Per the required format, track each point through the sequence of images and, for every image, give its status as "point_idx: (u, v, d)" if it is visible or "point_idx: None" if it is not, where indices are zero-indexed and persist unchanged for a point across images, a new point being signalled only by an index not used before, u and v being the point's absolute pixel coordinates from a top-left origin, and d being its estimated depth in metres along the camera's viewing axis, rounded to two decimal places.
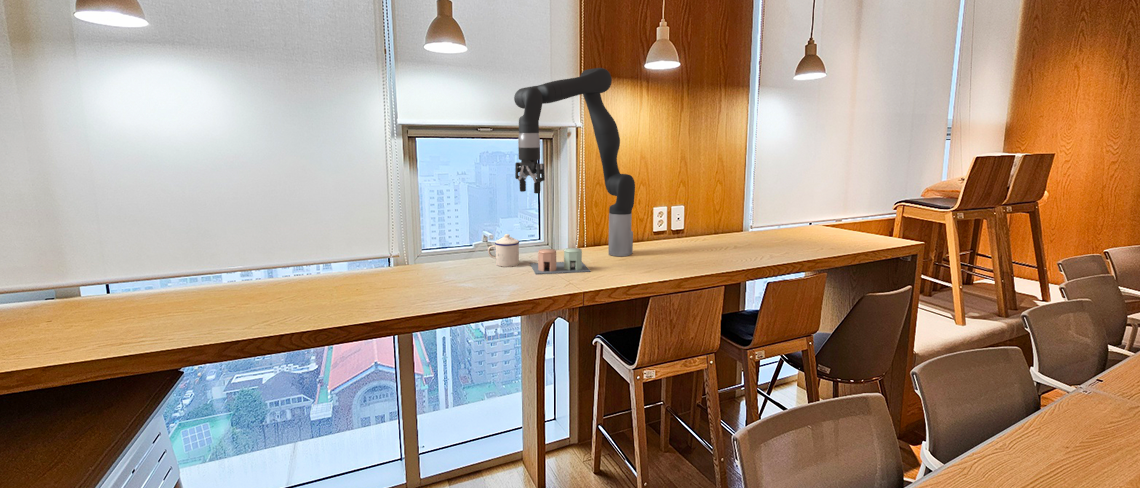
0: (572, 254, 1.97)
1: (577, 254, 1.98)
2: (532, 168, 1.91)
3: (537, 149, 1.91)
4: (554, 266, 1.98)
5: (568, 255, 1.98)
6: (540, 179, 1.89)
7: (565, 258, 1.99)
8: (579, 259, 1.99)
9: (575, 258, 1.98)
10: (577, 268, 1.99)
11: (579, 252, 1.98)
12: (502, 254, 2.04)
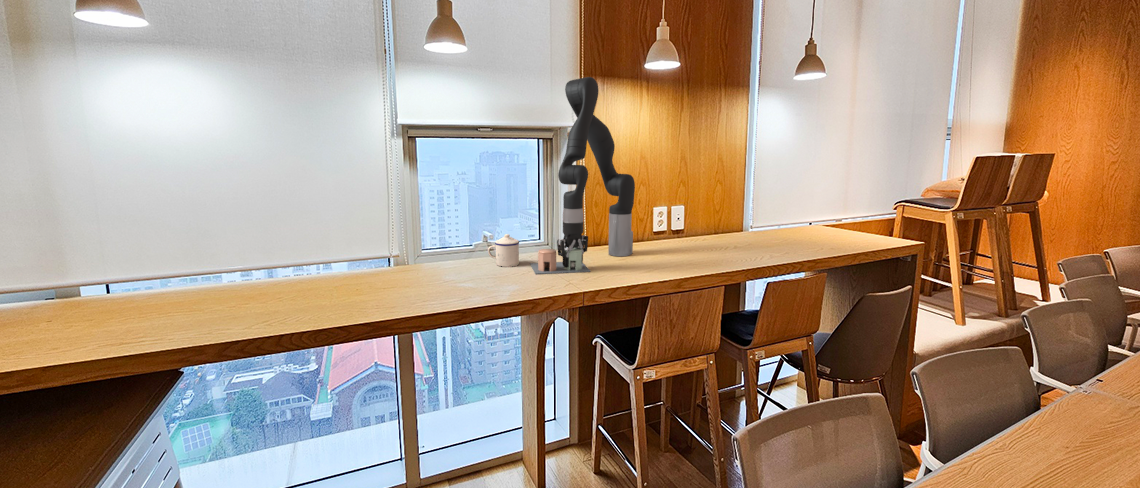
0: (572, 254, 1.97)
1: (577, 254, 1.98)
2: (581, 240, 2.01)
3: None
4: (554, 266, 1.98)
5: None
6: None
7: None
8: (579, 259, 1.99)
9: (575, 258, 1.98)
10: (577, 268, 1.99)
11: (579, 252, 1.98)
12: (502, 254, 2.04)
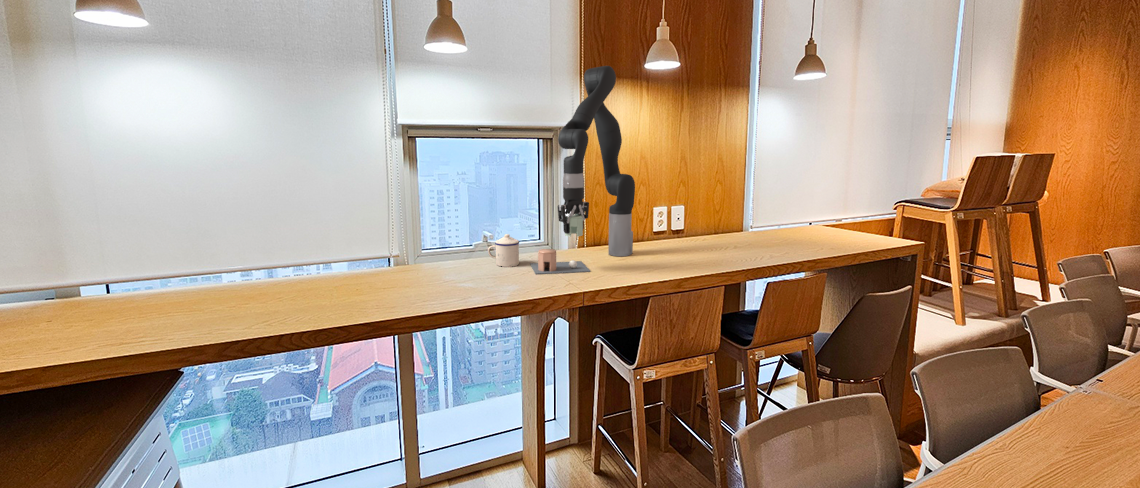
0: (573, 220, 1.95)
1: (578, 220, 1.95)
2: (581, 206, 1.99)
3: None
4: (554, 266, 1.98)
5: None
6: None
7: None
8: (580, 225, 1.96)
9: (576, 224, 1.95)
10: (578, 234, 1.96)
11: (580, 218, 1.96)
12: (502, 254, 2.04)
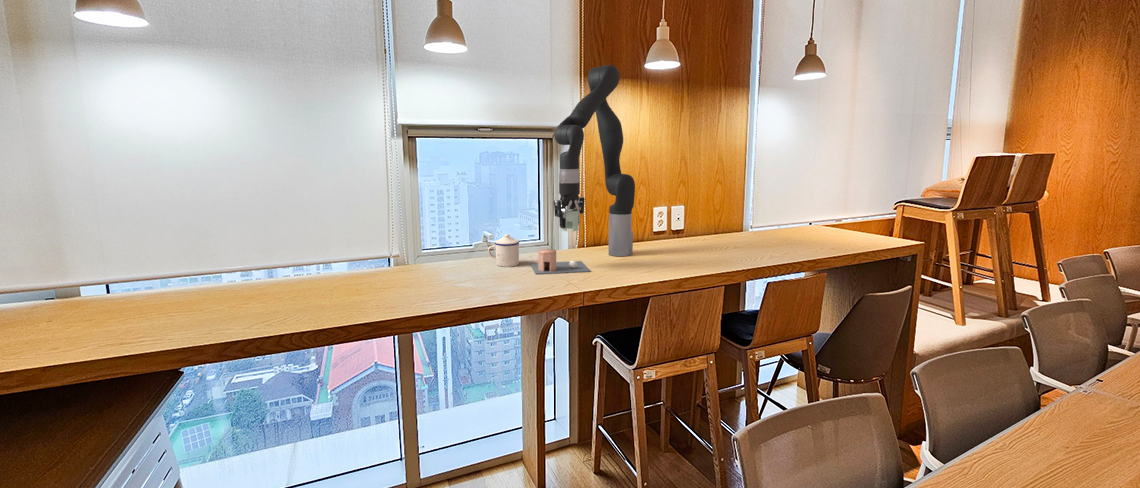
0: (569, 215, 1.97)
1: (574, 215, 1.98)
2: (577, 201, 2.01)
3: None
4: (554, 266, 1.98)
5: None
6: None
7: None
8: (576, 220, 1.99)
9: (572, 219, 1.98)
10: (574, 229, 1.99)
11: (576, 213, 1.98)
12: (502, 254, 2.04)
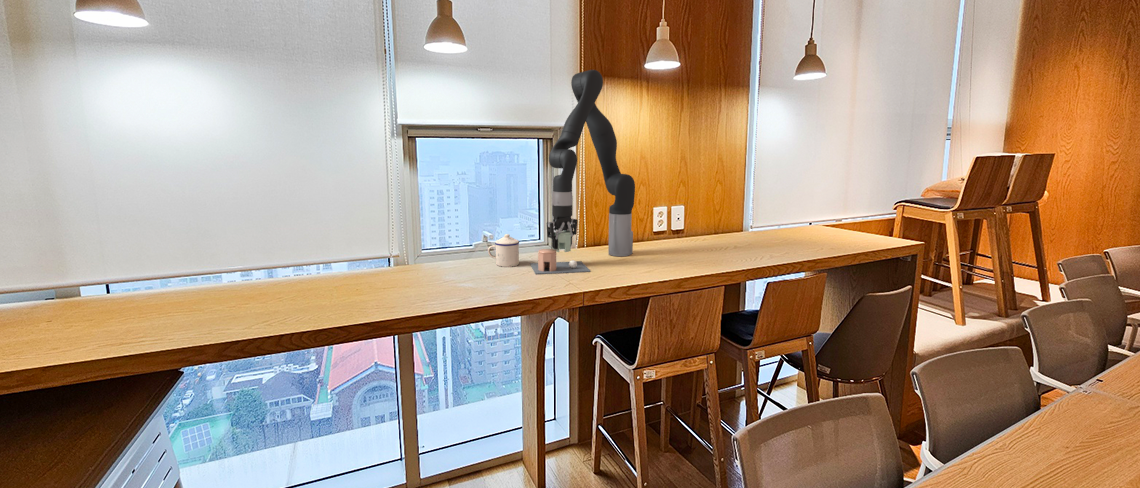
0: (561, 236, 2.03)
1: (566, 236, 2.03)
2: (570, 223, 2.06)
3: None
4: (554, 266, 1.98)
5: None
6: None
7: None
8: (568, 241, 2.04)
9: (564, 240, 2.03)
10: (566, 250, 2.04)
11: (568, 234, 2.04)
12: (502, 254, 2.04)
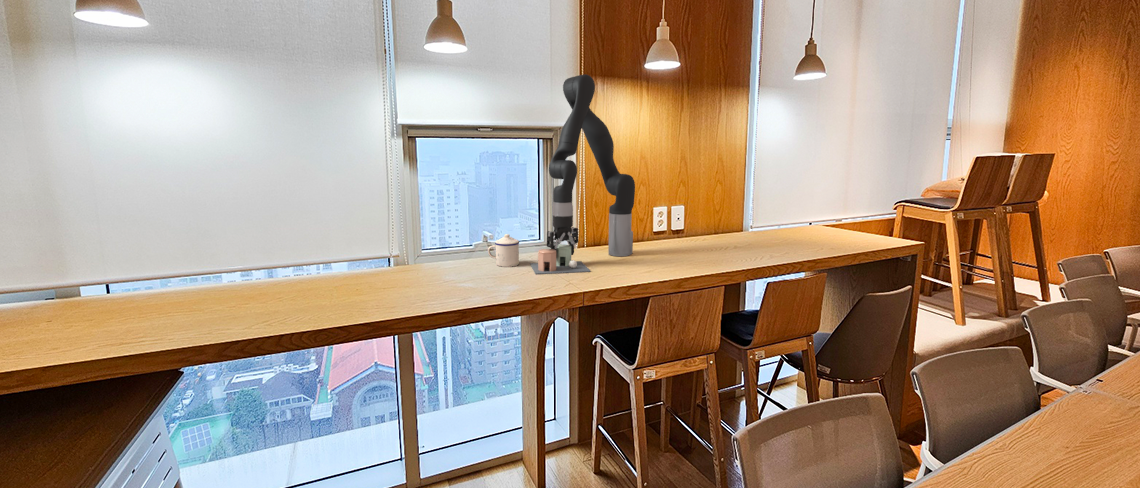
0: (562, 250, 2.04)
1: (567, 250, 2.04)
2: (570, 233, 2.07)
3: None
4: (554, 266, 1.98)
5: (558, 251, 2.04)
6: None
7: None
8: (569, 255, 2.05)
9: (565, 254, 2.04)
10: (567, 264, 2.05)
11: (569, 248, 2.05)
12: (502, 254, 2.04)
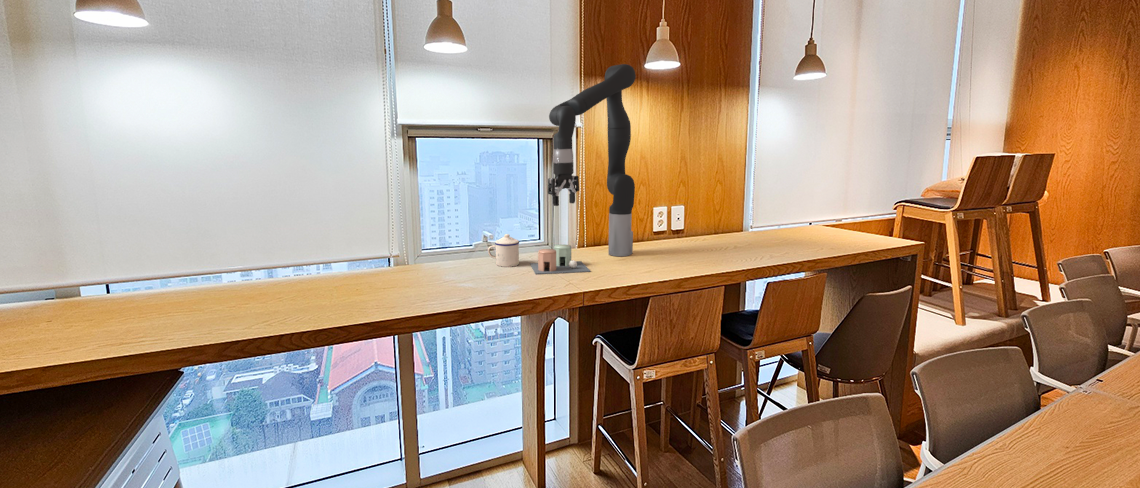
0: (562, 250, 2.04)
1: (567, 250, 2.04)
2: (571, 181, 2.07)
3: None
4: (554, 266, 1.98)
5: (558, 251, 2.04)
6: None
7: None
8: (569, 255, 2.05)
9: (565, 254, 2.04)
10: (567, 264, 2.05)
11: (569, 248, 2.05)
12: (502, 254, 2.04)
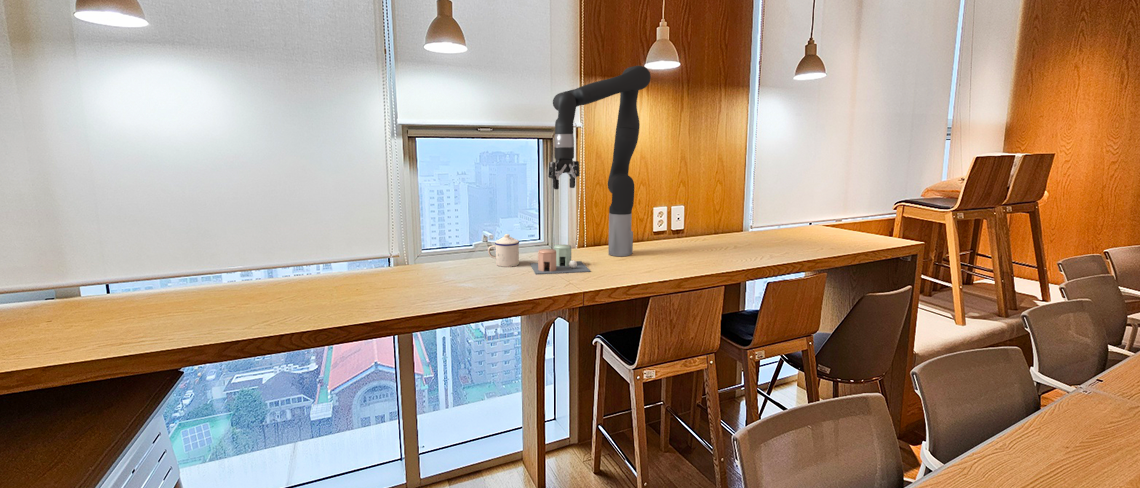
0: (562, 250, 2.04)
1: (567, 250, 2.04)
2: (571, 165, 2.13)
3: None
4: (554, 266, 1.98)
5: (558, 251, 2.04)
6: None
7: None
8: (569, 255, 2.05)
9: (565, 254, 2.04)
10: (567, 264, 2.05)
11: (569, 248, 2.05)
12: (502, 254, 2.04)
